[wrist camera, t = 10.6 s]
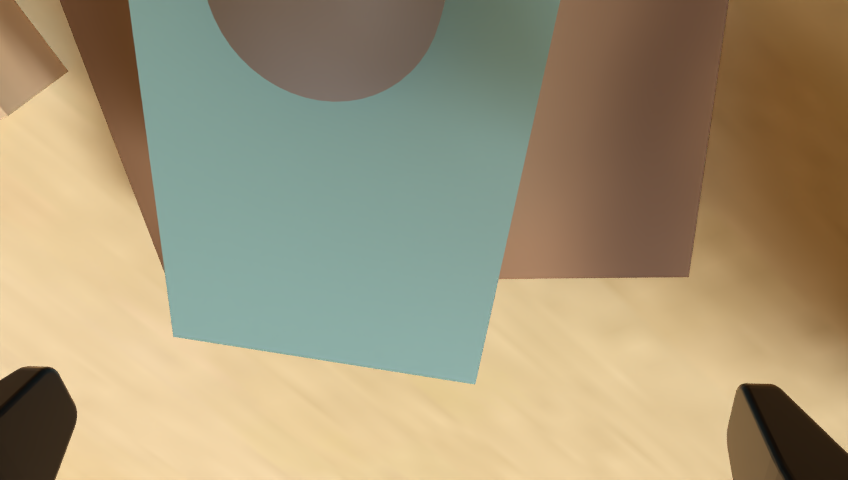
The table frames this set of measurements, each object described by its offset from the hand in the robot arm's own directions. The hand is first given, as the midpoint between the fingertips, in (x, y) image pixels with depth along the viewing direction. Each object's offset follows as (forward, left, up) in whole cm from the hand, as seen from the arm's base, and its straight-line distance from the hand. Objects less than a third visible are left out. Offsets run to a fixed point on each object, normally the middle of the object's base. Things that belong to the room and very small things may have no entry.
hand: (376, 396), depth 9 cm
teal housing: (+1, -2, -8) cm, 9 cm away
